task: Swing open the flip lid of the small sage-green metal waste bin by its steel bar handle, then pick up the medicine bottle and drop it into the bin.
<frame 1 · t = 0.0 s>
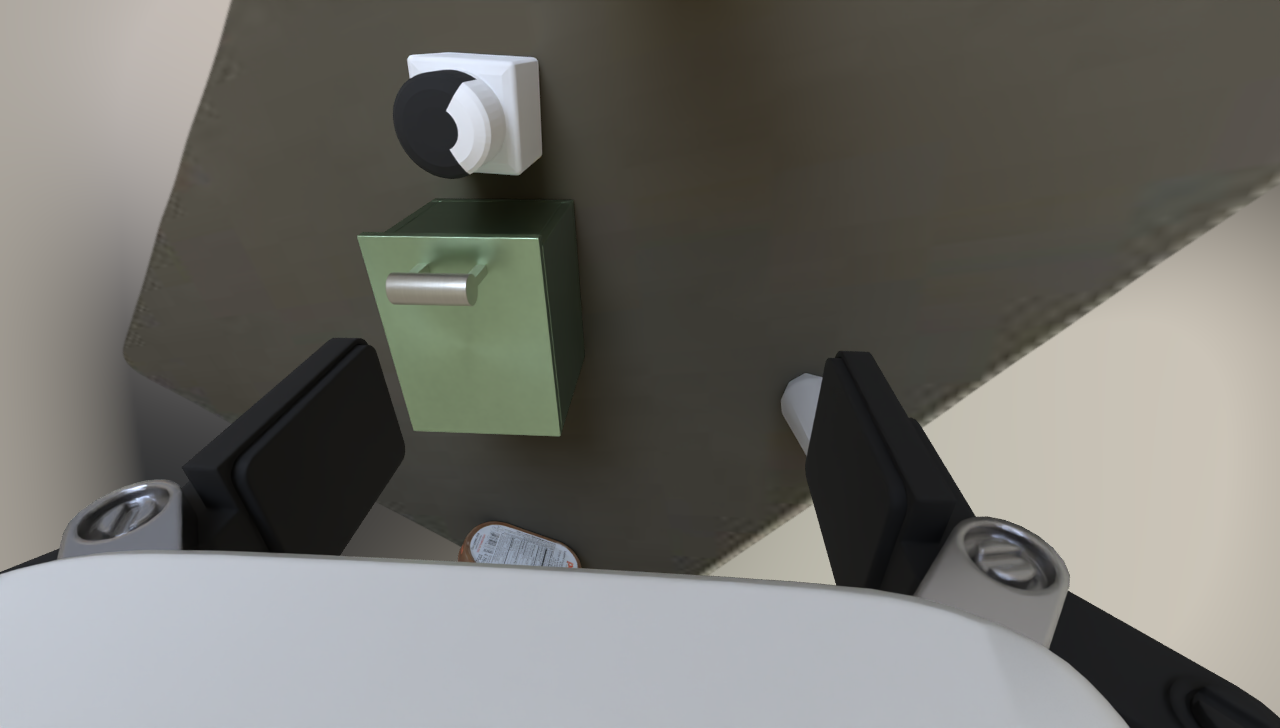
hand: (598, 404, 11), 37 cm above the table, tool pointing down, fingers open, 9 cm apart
salt shaker: (806, 388, 54), on the table
medicine bottle: (497, 106, 42), on the table
bin lid: (459, 358, 38), point 14 cm above the table, hinge at 0.0°
bin: (515, 283, 50), on the table
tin: (530, 534, 69), on the table
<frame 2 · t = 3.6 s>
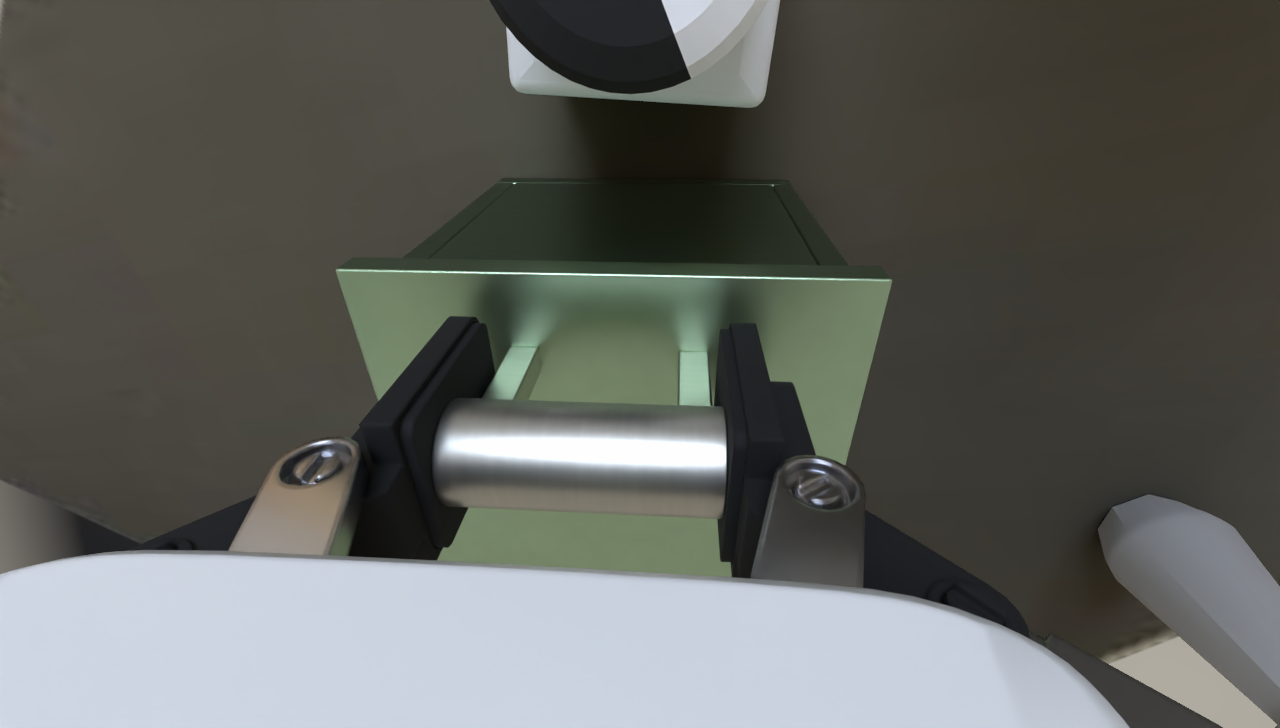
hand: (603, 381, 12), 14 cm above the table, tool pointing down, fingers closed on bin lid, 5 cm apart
salt shaker: (1136, 517, 31), on the table
bin lid: (609, 587, 14), point 14 cm above the table, hinge at 0.0°, touching gripper
bin: (643, 339, 27), on the table
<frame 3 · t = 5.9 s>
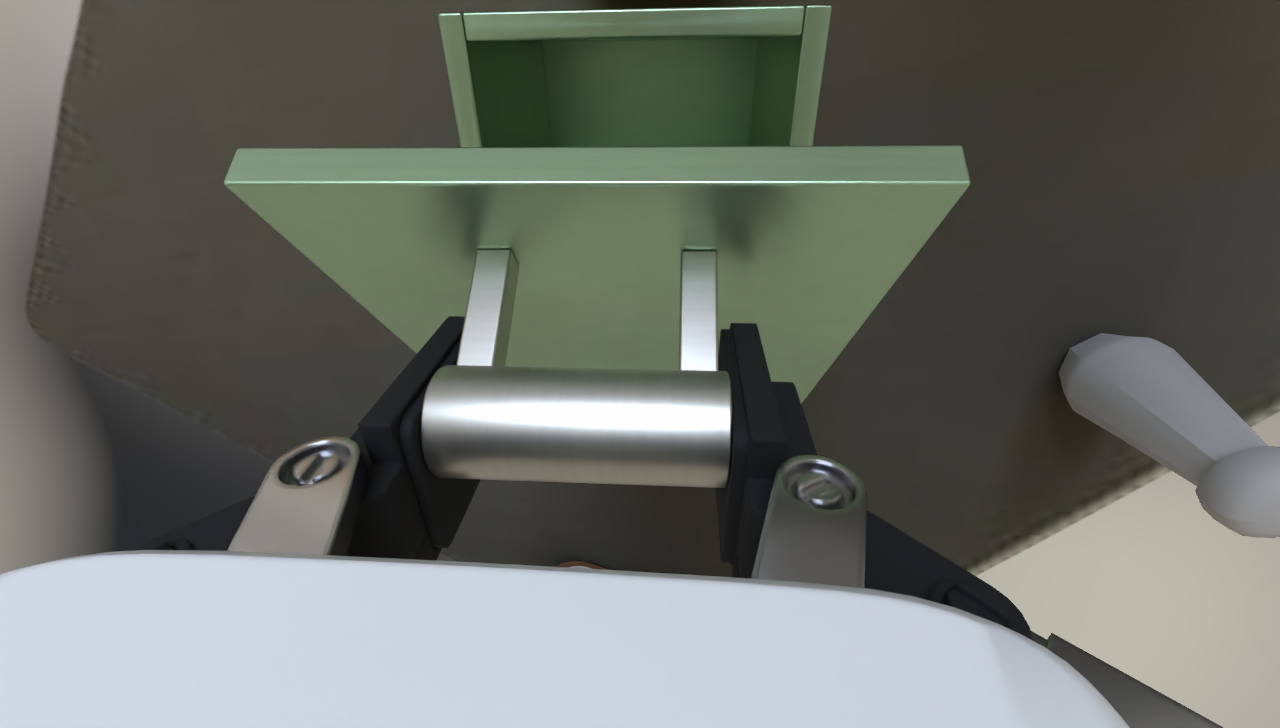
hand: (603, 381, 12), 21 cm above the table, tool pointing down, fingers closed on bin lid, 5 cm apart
salt shaker: (1092, 359, 35), on the table
bin lid: (618, 425, 16), point 19 cm above the table, hinge at 37.7°, touching gripper
bin: (650, 184, 30), on the table
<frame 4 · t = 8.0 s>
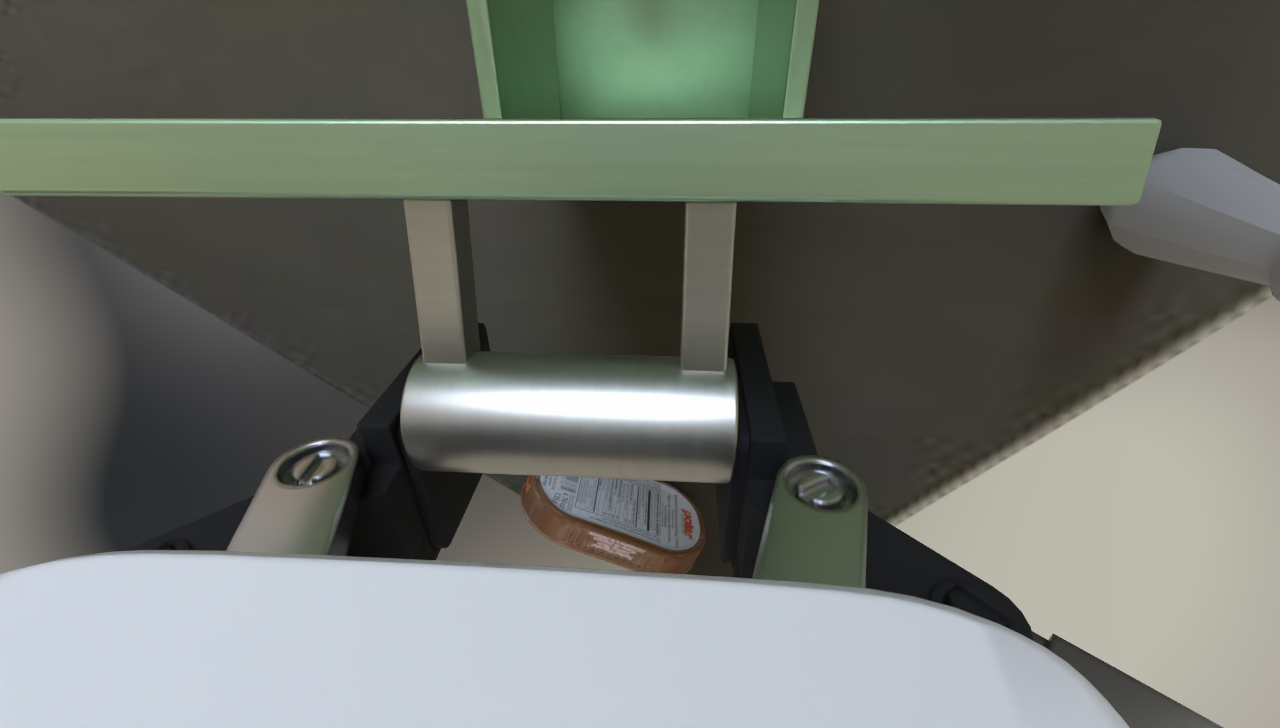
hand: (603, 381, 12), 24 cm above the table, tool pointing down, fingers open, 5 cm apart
salt shaker: (1138, 192, 32), on the table
bin lid: (617, 267, 14), point 21 cm above the table, hinge at 76.3°
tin: (622, 471, 46), on the table
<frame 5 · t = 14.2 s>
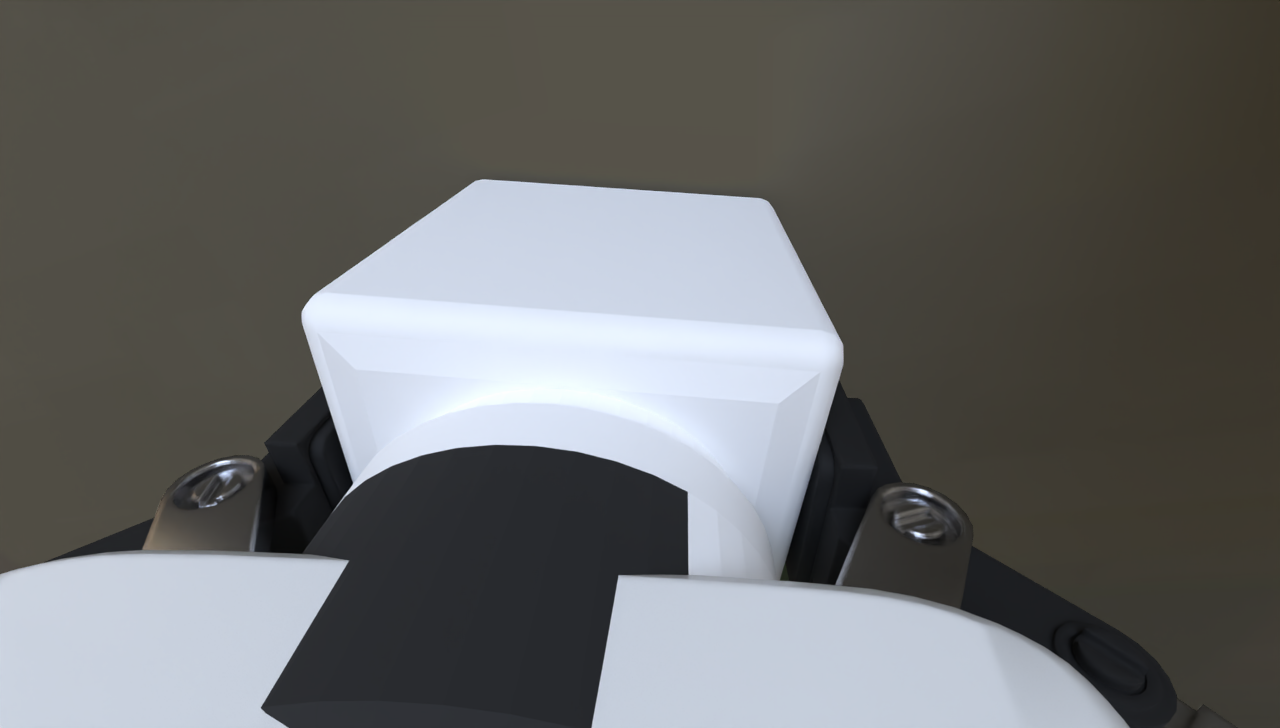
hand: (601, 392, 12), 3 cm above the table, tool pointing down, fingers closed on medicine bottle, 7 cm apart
medicine bottle: (618, 316, 15), on the table, touching gripper
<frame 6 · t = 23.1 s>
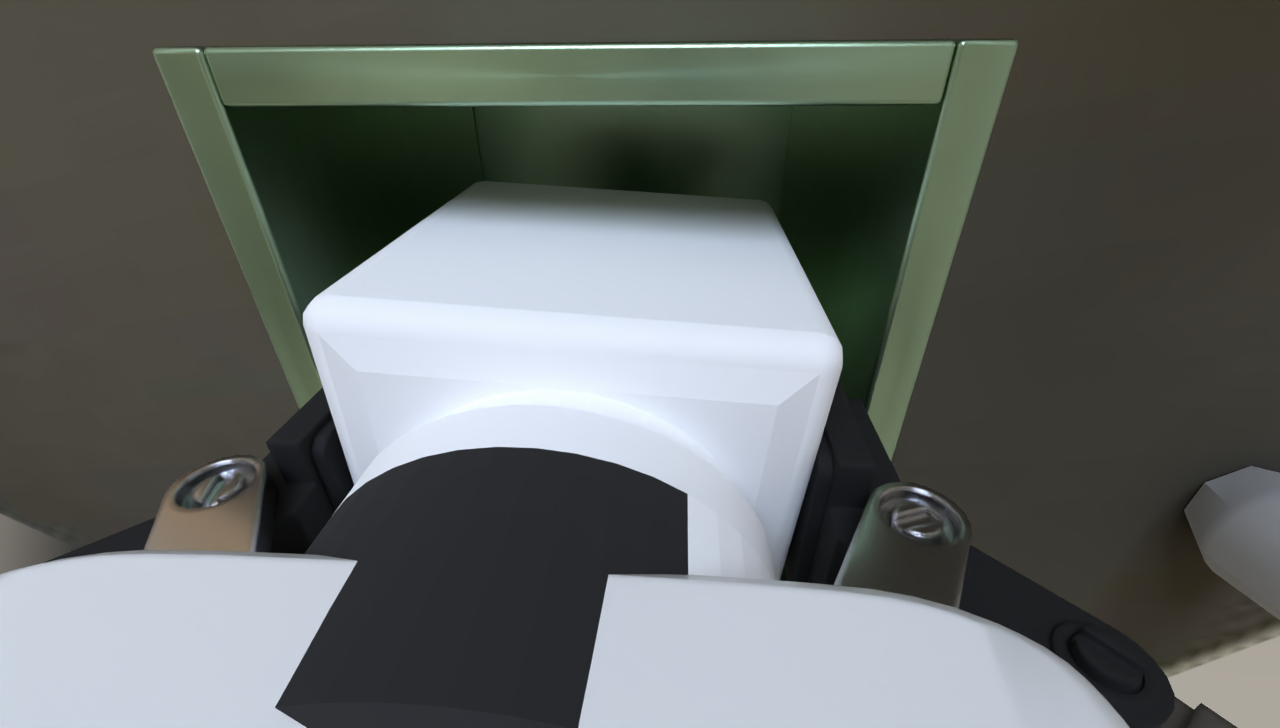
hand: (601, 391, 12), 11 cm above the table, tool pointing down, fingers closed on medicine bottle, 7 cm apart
salt shaker: (1232, 495, 26), on the table
medicine bottle: (618, 317, 15), point 7 cm above the table, touching gripper
bin: (634, 269, 21), on the table
when the fingers open (12 cm above the table, at t = 36.7 s): medicine bottle drops 7 cm, resting on bin.
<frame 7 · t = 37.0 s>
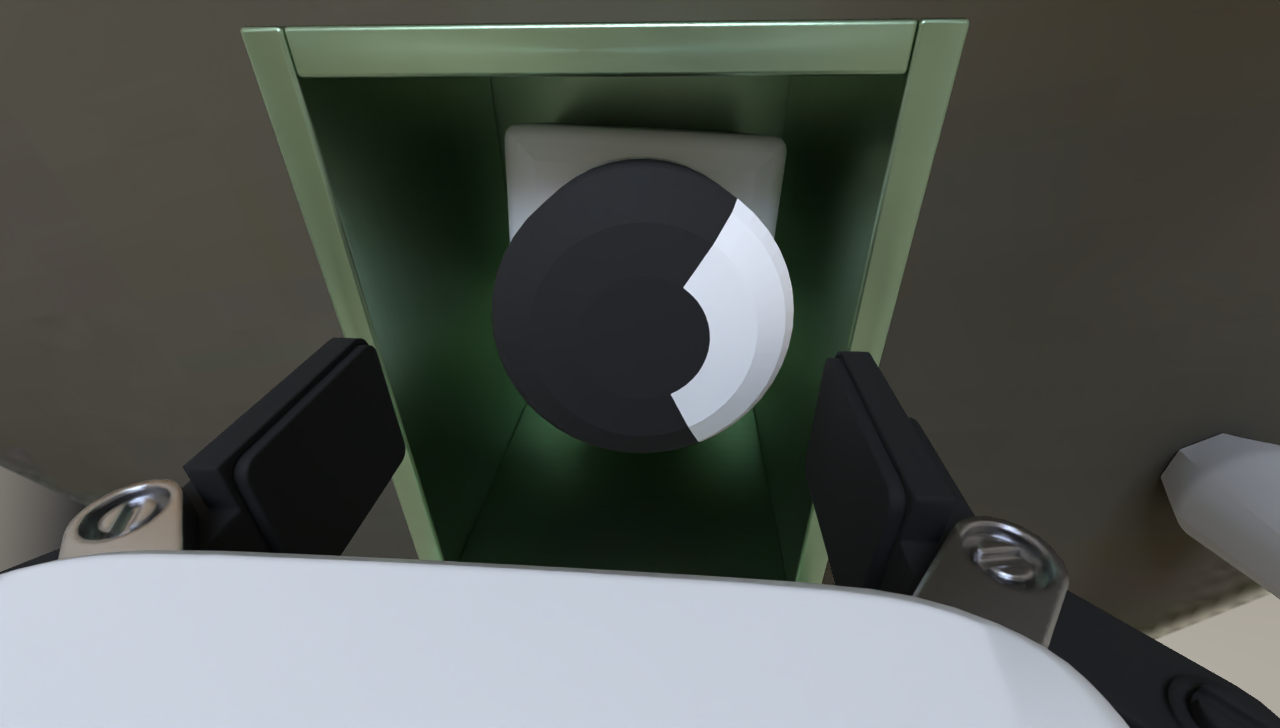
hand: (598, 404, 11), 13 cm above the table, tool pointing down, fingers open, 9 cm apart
salt shaker: (1206, 462, 27), on the table
medicine bottle: (638, 225, 21), point 1 cm above the table, touching bin
bin: (640, 244, 23), on the table
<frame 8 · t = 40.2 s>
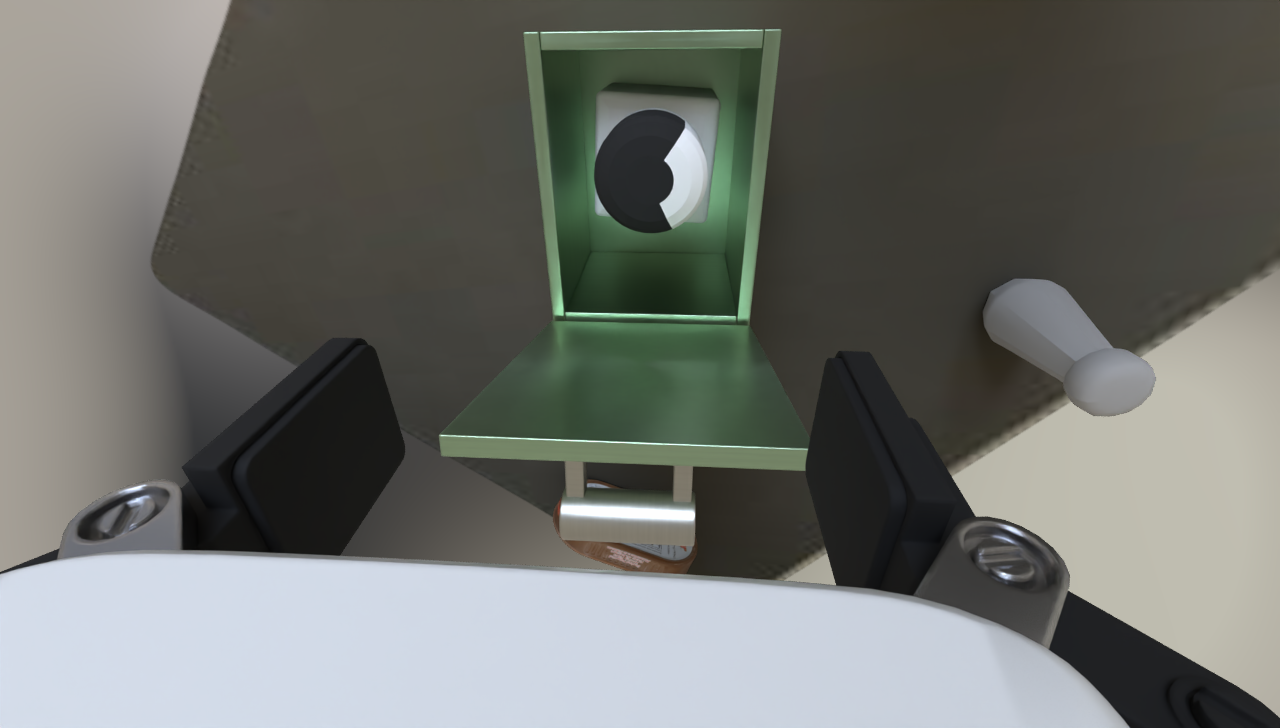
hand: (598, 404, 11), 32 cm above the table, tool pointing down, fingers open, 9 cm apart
salt shaker: (1009, 301, 43), on the table
medicine bottle: (658, 141, 38), point 1 cm above the table, touching bin
bin lid: (640, 415, 26), point 21 cm above the table, hinge at 76.3°
bin: (658, 156, 39), on the table
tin: (631, 496, 58), on the table
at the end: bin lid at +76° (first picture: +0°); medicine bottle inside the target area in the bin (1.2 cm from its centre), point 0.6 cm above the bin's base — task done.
